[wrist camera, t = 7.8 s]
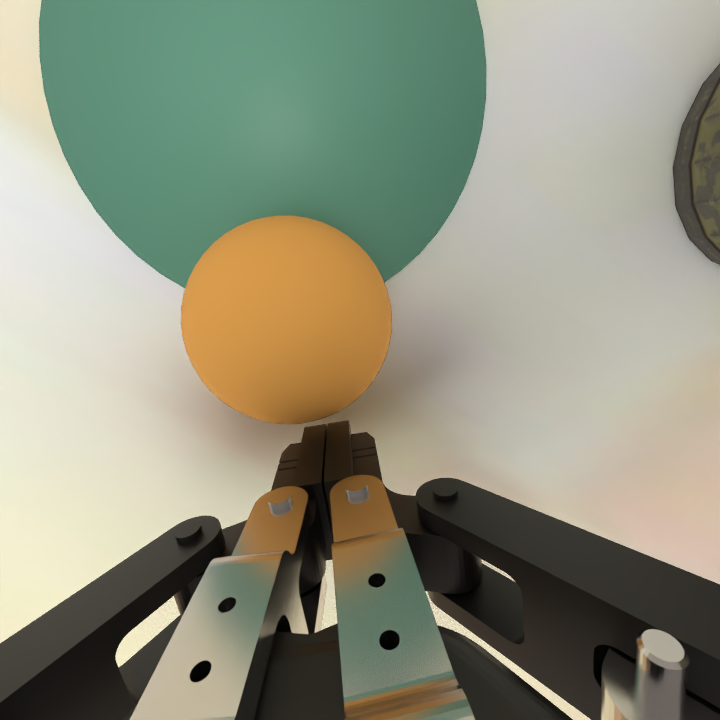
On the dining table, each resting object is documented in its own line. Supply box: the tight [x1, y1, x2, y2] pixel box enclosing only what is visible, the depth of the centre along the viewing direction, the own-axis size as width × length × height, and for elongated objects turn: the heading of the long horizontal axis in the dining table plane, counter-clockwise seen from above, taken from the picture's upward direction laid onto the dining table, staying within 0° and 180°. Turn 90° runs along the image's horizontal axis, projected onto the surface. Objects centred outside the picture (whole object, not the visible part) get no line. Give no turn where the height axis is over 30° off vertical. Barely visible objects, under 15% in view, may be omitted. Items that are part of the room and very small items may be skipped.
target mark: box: [39, 0, 486, 288], centre depth 13 cm, size 14×14×1 cm
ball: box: [181, 215, 392, 424], centre depth 12 cm, size 6×6×6 cm
